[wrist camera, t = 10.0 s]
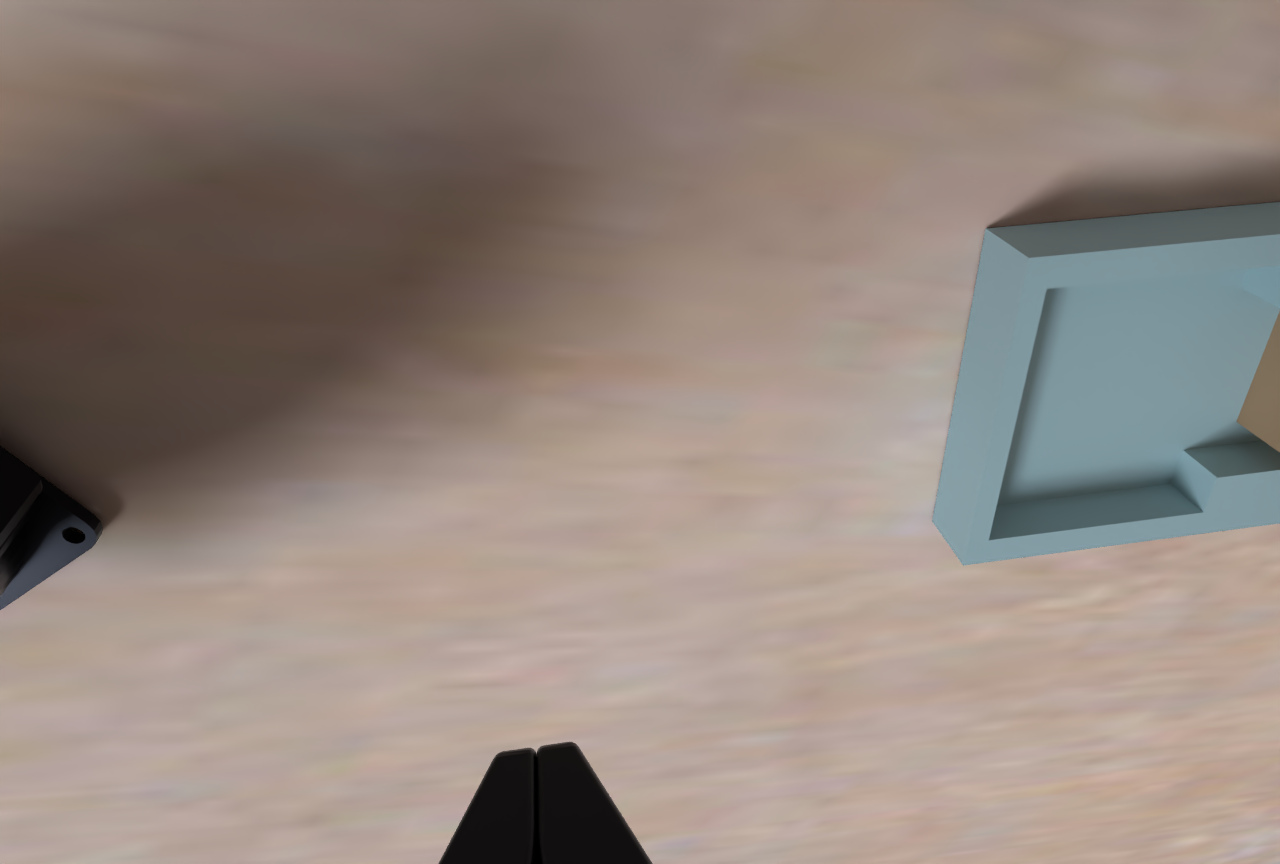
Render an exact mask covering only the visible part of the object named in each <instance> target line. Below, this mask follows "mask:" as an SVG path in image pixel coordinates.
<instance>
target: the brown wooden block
mask: <svg viewBox="0 0 1280 864" xmlns="http://www.w3.org/2000/svg"><path fill="white" fill-rule="evenodd" d="M1236 422H1237V423H1239V424H1240V425H1242V426H1243V427H1244V428H1246V429H1247V430H1249V431H1250V432H1251V433H1253V434H1254V435H1256V436H1257V437H1259V438H1260V439H1261V440H1263V441H1264V442H1266V443H1267V444H1268V445H1270V446H1271V447H1273V448H1274V449H1275V450H1277V451H1278V452H1280V311H1279V314H1278V316H1277V319H1276V321H1275V324H1274V327H1273V329H1272V332H1271V334H1270V337H1269V339H1268V342H1267V344H1266V347H1265V350H1264V352H1263V355H1262V357H1261V360H1260V362H1259V365H1258V367H1257V370H1256V373H1255V375H1254V378H1253V380H1252V383H1251V385H1250V388H1249V390H1248V393H1247V396H1246V398H1245V401H1244V403H1243V406H1242V408H1241V411H1240V413H1239V416H1238V419H1237V421H1236Z"/></svg>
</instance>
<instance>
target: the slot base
mask: <svg viewBox="0 0 1280 864" xmlns="http://www.w3.org/2000/svg"><path fill="white" fill-rule="evenodd" d="M1279 311H1280V202H1272V203H1261V204H1250V205H1239V206H1228V207H1217V208H1206V209H1195V210H1184V211H1173V212H1162V213H1151V214H1140V215H1129V216H1118V217H1107V218H1096V219H1085V220H1074V221H1063V222H1052V223H1041V224H1030V225H1019V226H1008V227H997V228H986V230H985V235H984V241H983V246H982V252H981V257H980V263H979V268H978V273H977V279H976V284H975V290H974V295H973V301H972V306H971V312H970V317H969V323H968V328H967V334H966V339H965V345H964V350H963V356H962V361H961V367H960V372H959V378H958V383H957V389H956V394H955V399H954V405H953V410H952V416H951V421H950V427H949V432H948V438H947V443H946V449H945V454H944V460H943V465H942V471H941V476H940V482H939V487H938V493H937V498H936V504H935V509H934V514H933V520H932V522H933V523H934V524H935V526H936V527H937V529H938V530H939V532H940V533H941V534H942V536H943V537H944V539H945V540H946V542H947V543H948V544H949V546H950V547H951V549H952V550H953V552H954V553H955V554H956V556H957V557H958V559H959V560H960V562H961V563H962V564H963V565H969V564H977V563H984V562H992V561H999V560H1007V559H1014V558H1022V557H1030V556H1037V555H1045V554H1052V553H1060V552H1067V551H1075V550H1082V549H1090V548H1097V547H1105V546H1112V545H1120V544H1127V543H1135V542H1143V541H1150V540H1158V539H1165V538H1173V537H1180V536H1188V535H1195V534H1203V533H1210V532H1218V531H1225V530H1233V529H1240V528H1248V527H1255V526H1263V525H1271V524H1278V523H1280V452H1278V451H1277V450H1275V449H1274V448H1273V447H1271V446H1270V445H1268V444H1267V443H1266V442H1264V441H1263V440H1261V439H1260V438H1259V437H1257V436H1256V435H1254V434H1253V433H1251V432H1250V431H1249V430H1247V429H1246V428H1244V427H1243V426H1242V425H1240V424H1239V423H1237V422H1236V421H1237V419H1238V416H1239V413H1240V411H1241V408H1242V406H1243V403H1244V401H1245V398H1246V396H1247V393H1248V390H1249V388H1250V385H1251V383H1252V380H1253V378H1254V375H1255V373H1256V370H1257V367H1258V365H1259V362H1260V360H1261V357H1262V355H1263V352H1264V350H1265V347H1266V344H1267V342H1268V339H1269V337H1270V334H1271V332H1272V329H1273V327H1274V324H1275V321H1276V319H1277V316H1278V314H1279Z"/></svg>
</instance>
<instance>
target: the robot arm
mask: <svg viewBox="0 0 1280 864" xmlns="http://www.w3.org/2000/svg"><path fill="white" fill-rule="evenodd" d="M70 527H74V528H78V529H80V530H82V531H83V533H84V534H83V533H77V532H75V531H73V530H72V529H71V528H70ZM102 529H103V526H102V524H101V521H100V520H99V519H98V518H97V517H96V516H95V515H94V514H92V513H91V512H90V511H88V510H87V509H86V508H84V507H83V506H82V505H80V504H79V503H77V502H76V501H75V500H73V499H72V498H71V497H69V496H68V495H66V494H65V493H64V492H62V491H61V490H60V489H58V488H57V487H56V486H54V485H53V484H51V483H50V482H49V481H47V480H46V479H45V478H43V477H42V476H40V475H39V474H38V473H36V472H35V471H34V470H32V469H31V468H30V467H28V466H27V465H25V464H24V463H23V462H21V461H20V460H19V459H17V458H16V457H15V456H13V455H12V454H10V453H9V452H8V451H6V450H5V449H4V448H2V447H1V446H0V610H1V609H3V608H4V607H6V606H7V605H8V604H10V603H11V602H13V601H14V600H16V599H17V598H19V597H20V596H22V595H23V594H25V593H26V592H28V591H29V590H30V589H32V588H33V587H35V586H36V585H38V584H39V583H41V582H42V581H44V580H45V579H47V578H48V577H50V576H51V575H52V574H54V573H55V572H57V571H58V570H60V569H61V568H63V567H64V566H66V565H67V564H69V563H70V562H71V561H73V560H74V559H76V558H77V557H79V556H80V555H82V554H83V553H85V552H86V551H88V550H89V549H91V548H92V547H93V546H94V544H95V543H96V542H97V540H98V538H99V537H100V535H101V533H102ZM439 864H652V862H651V861H650V859H649V857H648V856H647V854H646V853H645V851H644V849H643V848H642V846H641V845H640V843H639V842H638V840H637V838H636V837H635V835H634V834H633V832H632V831H631V829H630V827H629V826H628V824H627V823H626V821H625V819H624V818H623V816H622V815H621V813H620V812H619V810H618V808H617V807H616V805H615V804H614V802H613V801H612V799H611V797H610V796H609V794H608V793H607V791H606V789H605V788H604V786H603V785H602V783H601V782H600V780H599V778H598V777H597V775H596V774H595V772H594V771H593V769H592V767H591V766H590V764H589V763H588V761H587V759H586V758H585V756H584V755H583V753H582V752H581V750H580V748H579V747H578V746H577V745H576V744H575V743H573V742H564V743H557V744H551V745H544V746H541V747H540V748H539V749H538V751H537V754H536V752H535V750H534V749H532V748H524V749H517V750H510V751H503V752H500V753H498V754H497V755H496V756H495V758H494V759H493V761H492V763H491V764H490V766H489V768H488V770H487V772H486V774H485V776H484V778H483V780H482V782H481V784H480V785H479V787H478V789H477V791H476V793H475V795H474V797H473V799H472V801H471V803H470V805H469V807H468V808H467V810H466V812H465V814H464V816H463V818H462V820H461V822H460V824H459V826H458V828H457V829H456V831H455V833H454V835H453V837H452V839H451V841H450V843H449V845H448V847H447V849H446V851H445V852H444V854H443V856H442V858H441V860H440V862H439Z"/></svg>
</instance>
